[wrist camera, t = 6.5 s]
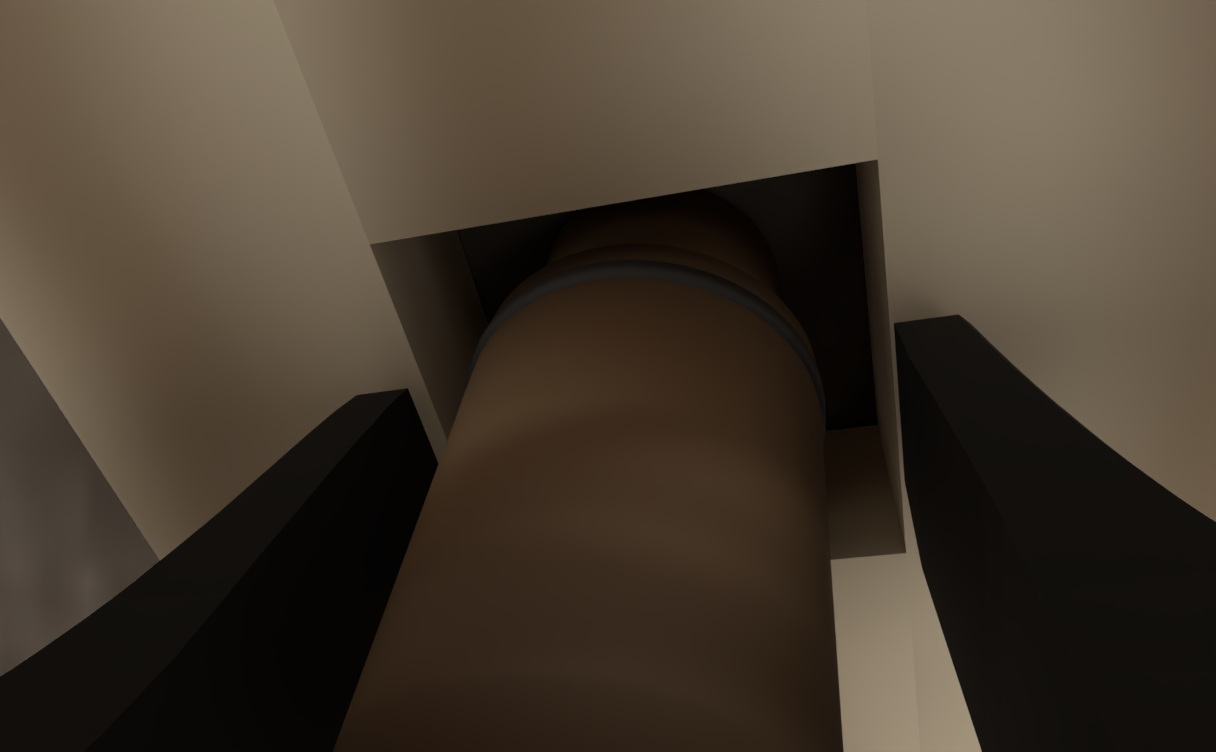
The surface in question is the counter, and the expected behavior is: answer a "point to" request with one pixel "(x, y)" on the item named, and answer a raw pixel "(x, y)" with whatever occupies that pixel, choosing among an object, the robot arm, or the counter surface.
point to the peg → (622, 514)
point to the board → (589, 177)
